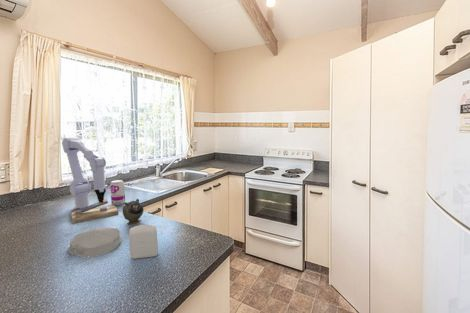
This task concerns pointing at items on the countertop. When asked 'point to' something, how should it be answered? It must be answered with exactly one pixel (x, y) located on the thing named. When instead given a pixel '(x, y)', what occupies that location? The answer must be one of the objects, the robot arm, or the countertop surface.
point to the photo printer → (143, 241)
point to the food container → (95, 242)
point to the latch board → (93, 213)
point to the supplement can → (117, 192)
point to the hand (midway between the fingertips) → (101, 201)
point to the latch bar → (92, 206)
